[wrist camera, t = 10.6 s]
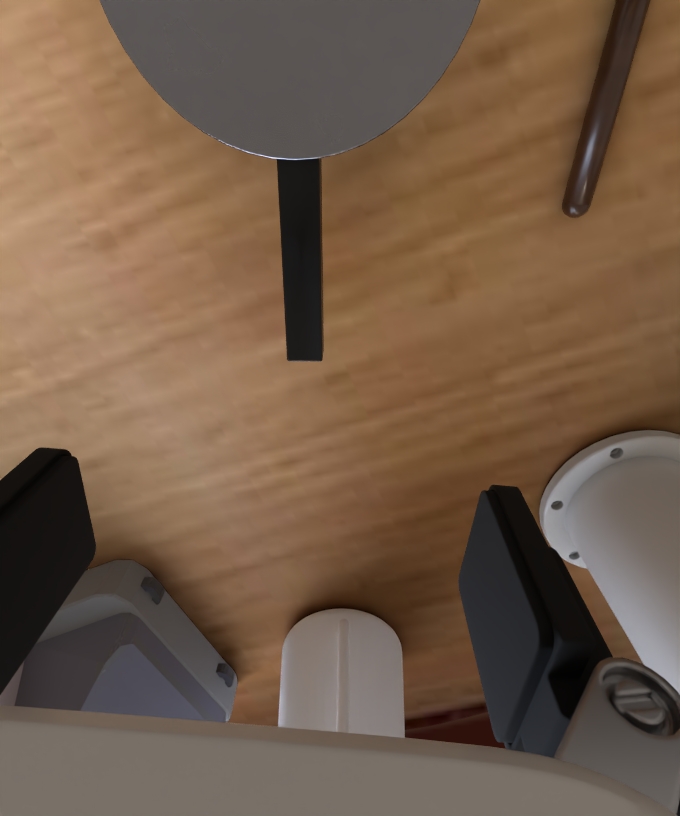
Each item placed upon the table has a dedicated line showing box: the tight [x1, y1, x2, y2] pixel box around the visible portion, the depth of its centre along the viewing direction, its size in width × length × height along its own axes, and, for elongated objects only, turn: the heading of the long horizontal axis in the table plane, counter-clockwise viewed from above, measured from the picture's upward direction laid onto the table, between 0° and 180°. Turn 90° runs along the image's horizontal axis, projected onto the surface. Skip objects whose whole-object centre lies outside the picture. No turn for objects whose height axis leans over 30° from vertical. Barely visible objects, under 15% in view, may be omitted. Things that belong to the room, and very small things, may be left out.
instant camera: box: [0, 560, 238, 723], centre depth 38 cm, size 21×21×15 cm
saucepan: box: [100, 0, 480, 361], centre depth 20 cm, size 14×23×9 cm, turn 0°
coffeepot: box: [278, 608, 405, 738], centre depth 35 cm, size 11×25×19 cm, turn 179°
